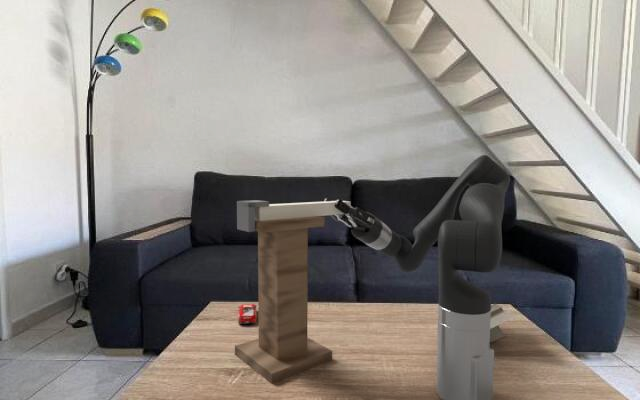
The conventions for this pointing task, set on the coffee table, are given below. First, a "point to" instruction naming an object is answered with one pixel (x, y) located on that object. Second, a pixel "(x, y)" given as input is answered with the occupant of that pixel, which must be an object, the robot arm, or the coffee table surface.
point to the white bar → (280, 211)
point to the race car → (247, 314)
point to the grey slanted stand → (498, 321)
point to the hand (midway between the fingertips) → (330, 202)
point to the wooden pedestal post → (283, 302)
